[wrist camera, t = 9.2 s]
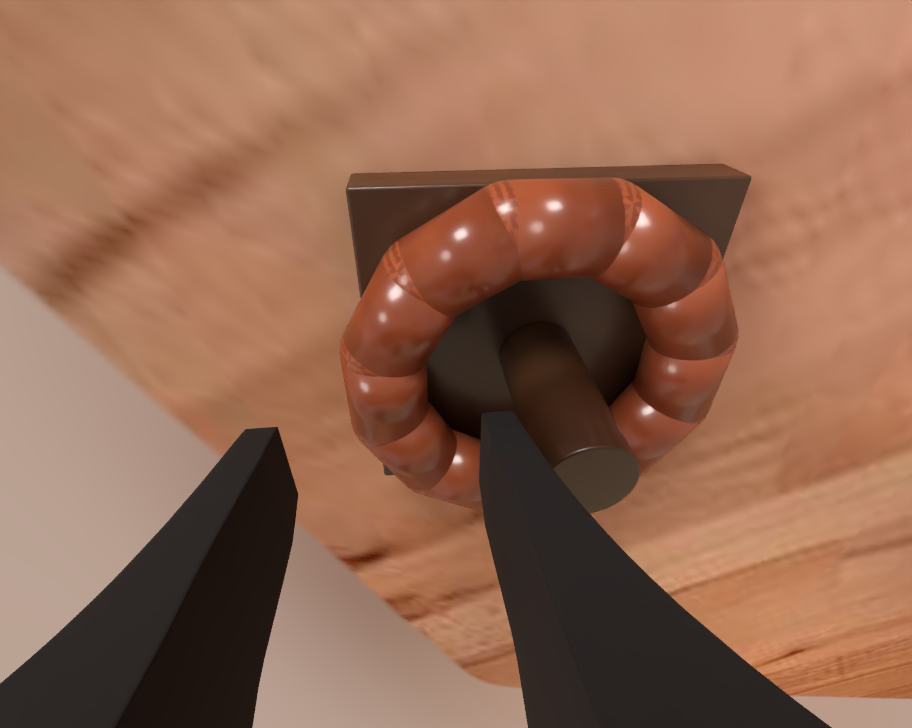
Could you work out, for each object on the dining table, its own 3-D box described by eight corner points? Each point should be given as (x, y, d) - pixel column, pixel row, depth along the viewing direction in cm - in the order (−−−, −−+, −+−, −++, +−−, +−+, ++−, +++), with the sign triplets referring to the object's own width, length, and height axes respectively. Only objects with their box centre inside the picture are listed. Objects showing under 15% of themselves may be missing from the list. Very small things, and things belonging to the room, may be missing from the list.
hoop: (763, 163, 10) (830, 188, 9) (653, 462, 16) (682, 511, 14) (318, 171, 10) (302, 202, 8) (368, 483, 15) (365, 538, 14)
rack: (723, 163, 11) (941, 256, 7) (639, 431, 17) (730, 584, 12) (349, 172, 11) (313, 283, 6) (385, 449, 16) (380, 620, 11)
